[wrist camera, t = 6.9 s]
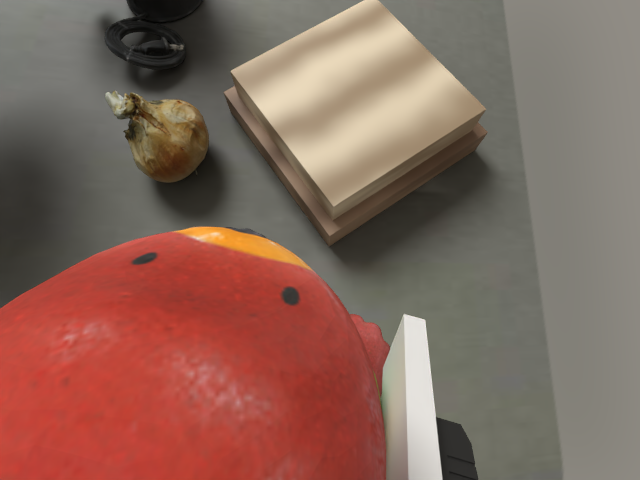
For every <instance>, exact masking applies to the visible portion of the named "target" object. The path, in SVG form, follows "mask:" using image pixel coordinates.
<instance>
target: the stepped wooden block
mask: <svg viewBox="0 0 640 480" xmlns="http://www.w3.org/2000/svg"><path fill="white" fill-rule="evenodd" d="M231 75H232V78H233V81H234V84H235V86H234V87H232V88H230V89H228V90H227V91H225V92H224V95H225V98H226V100H227V103H228V106H229V109H230V111H231V113H232V115H233V116H234V117H235V119H236V120H237V121H238V123H239V124H240V125H241V127H242V128H243V130H244V131H245V132H246V134H247V135H248V136H249V138H250V139H251V141H252V142H253V143H254V145H255V146H256V147H257V149H258V150H259V152H260V153H261V154H262V156H263V157H264V158H265V160H266V161H267V162H268V164H269V165H270V167H271V168H272V169H273V171H274V172H275V173H276V175H277V176H278V178H279V179H280V180H281V182H282V183H283V184H284V186H285V187H286V189H287V190H288V191H289V193H290V194H291V195H292V197H293V198H294V199H295V201H296V202H297V204H298V205H299V206H300V208H301V209H302V210H303V212H304V213H305V215H306V216H307V217H308V219H309V220H310V221H311V223H312V224H313V226H314V227H315V228H316V230H317V231H318V232H319V234H320V235H321V236H322V238H323V239H324V241H325V242H326V243H327V245H328V246H331V245H332V244H334V243H335V242H337V241H338V240H340V239H341V238H343V237H344V236H346V235H347V234H349V233H350V232H352V231H353V230H355V229H356V228H358V227H359V226H361V225H362V224H364V223H365V222H367V221H368V220H370V219H371V218H373V217H374V216H376V215H377V214H379V213H380V212H382V211H384V210H385V209H387V208H388V207H390V206H391V205H393V204H394V203H396V202H397V201H399V200H400V199H402V198H403V197H405V196H406V195H408V194H409V193H411V192H412V191H414V190H415V189H417V188H418V187H420V186H421V185H423V184H424V183H426V182H427V181H429V180H430V179H432V178H433V177H435V176H436V175H438V174H439V173H441V172H442V171H444V170H445V169H447V168H449V167H450V166H452V165H453V164H455V163H456V162H458V161H459V160H461V159H462V158H464V157H465V156H467V155H468V154H470V153H471V152H473V151H474V150H475V149H476V148H477V146H478V145H479V144H480V142H481V141H482V140H483V138H484V137H485V135H486V134H487V133H488V132H487V131H486V130H485V129H484V128H483V127H482V126H481V125H480V124H479V123H478V121H479V119H480V118H481V116H482V115H483V113H484V112H485V110H486V108H485V107H484V106H483V105H482V104H481V103H480V102H479V101H478V100H477V99H476V98H475V97H474V96H473V95H472V94H471V93H470V92H469V91H468V90H467V89H466V88H465V87H464V86H463V85H462V84H461V83H460V82H459V81H458V80H457V79H456V78H455V77H454V76H453V75H452V74H451V73H450V72H449V71H448V70H447V69H446V68H445V67H444V66H443V65H442V64H441V63H440V62H439V61H438V60H437V59H436V58H435V57H434V56H433V55H432V54H431V53H430V52H429V51H428V50H427V49H426V48H425V47H424V46H423V45H422V44H421V43H420V42H419V41H418V40H417V39H416V38H415V37H414V36H413V35H412V34H411V33H410V32H409V31H408V30H407V29H406V28H405V27H404V26H403V25H402V24H401V23H400V22H399V21H398V20H397V19H396V18H395V17H394V16H393V15H392V14H391V13H390V12H389V11H388V10H387V9H386V8H385V7H384V6H383V5H382V4H381V3H380V2H379V1H378V0H364V1H362V2H360V3H358V4H356V5H355V6H353V7H351V8H349V9H347V10H345V11H343V12H341V13H339V14H338V15H336V16H334V17H332V18H330V19H328V20H326V21H324V22H322V23H320V24H319V25H317V26H315V27H313V28H311V29H309V30H307V31H305V32H303V33H301V34H300V35H298V36H296V37H294V38H292V39H290V40H288V41H286V42H284V43H283V44H281V45H279V46H277V47H275V48H273V49H271V50H269V51H267V52H265V53H264V54H262V55H260V56H258V57H256V58H254V59H252V60H250V61H248V62H246V63H245V64H243V65H241V66H239V67H237V68H235V69H233V70H231Z"/></svg>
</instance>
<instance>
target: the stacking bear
mask: <svg viewBox="0 0 640 480" xmlns="http://www.w3.org/2000/svg"><path fill="white" fill-rule="evenodd" d="M389 351H390V346H389V345H388V343H386V342H385V341H384V340H383V337H382V333H381V329H380V328H379V326H378V325H376V324H374V323H366V322H364V320H363V319H362V317H360V316H359V315H355V314H349V313H348V311H347V310H346V308H345V307H344V305H343V304H342V302H341V301H340V299H339V298H338V296H337V295H336V294H335V293H334V292H333V290H332V289H331V288H330V287H329V286H328V284H327V283H326V282H325V281H324V280H323V279H322V278H320V277H319V276H318V275H317V274H316V273H315V272H314V271H313V270H312V269H311V268H310V267H309V266H308V265H307V264H306V263H304V262H303V261H302V260H301V259H300V258H299V257H297V256H296V255H295V254H294V253H292V252H291V251H289V250H287V249H286V248H284V247H282V246H281V245H279V244H278V243H276V242H274V241H271V240H269V239H267V238H266V237H265V236H263V235H261V234H259V233H257V232H255V231H253V230H251V229H236V228H231V227H226V228H221V227H192V228H189V229H185V230H180V231H173V232H167V233H161V234H156V235H152V236H148V237H143V238H139V239H136V240H133V241H130V242H127V243H123V244H120V245H118V246H115V247H113V248H110V249H108V250H105V251H103V252H100V253H97V254H95V255H93V256H91V257H89V258H87V259H85V260H83V261H81V262H79V263H77V264H76V265H74V266H72V267H70V268H68V269H66V270H65V271H63V272H61V273H59V274H58V275H56V276H54V277H52V278H50V279H48V280H47V281H45V282H43V283H41V284H39V285H38V286H36V287H34V288H32V289H30V290H29V291H27V292H25V293H23V294H21V295H20V296H18V297H17V298H15V299H14V300H12V301H11V302H9V303H8V304H6V305H5V306H3V307H2V308H0V480H386V442H385V431H384V420H383V415H382V409H381V401H380V397H381V394H382V377H383V367H384V364H385V361H386V359H387V356H388V354H389Z"/></svg>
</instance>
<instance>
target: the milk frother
mask: <svg viewBox="0 0 640 480" xmlns="http://www.w3.org/2000/svg"><path fill="white" fill-rule="evenodd" d="M201 1H202V0H127V4H128V6H129V7H130V9H131V10H132V11H133V12H134V13H135V14H136V15H137V17H133V18H128V19H123V20H121V21H118V22H116V23H114V24H112V25H111V26H109V28H108V29H107V30H106V32H105V42H106V45H107V46H108V48H109V49H110V50H111V51H112V52H113V53H114V54H115V55H117V56H118V57H120V58H122V59H124V60H125V61H128V62H130V63H132V64H134V65H137V66H140V67H144V68H149V69H157V70H163V69H169V68H173V67H175V66H178V65H179V64H181V63H182V62H183V60H184V58H185V55H186V51H185V45H184V43H183V40H182V38H181V37H180V36H179V35H178V34H177V33H176V32H174V31H173V30H170V29H168V28H166V27H164V26H161V25H158V24H154V23H150V22H143V21H138V20H140V19H145V20H148V21H153V22H166V21H173V20H177V19H180V18H182V17H184V16H187V15H188V14H190V13H191V12H193V11H194V10H195V9H196V8H197V7H198V6H199V5H200V3H201ZM133 32H148V33H153V34H156V35H159V36H162V40H155V41H149V42H147V43H142V45H138V46H137V45H136V46H134V45H132V46H131V48H130V47H128V46H126V45H124V44H123V43H122V41H121V39H122V38H123V37H124V36H125V35H127V34H129V33H133ZM166 39H167V40H169V41H170V42H171V43H172V44H169V43H168V42H167V40H166Z"/></svg>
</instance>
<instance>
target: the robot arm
mask: <svg viewBox="0 0 640 480" xmlns="http://www.w3.org/2000/svg"><path fill="white" fill-rule="evenodd" d="M381 409H382V415H383V420H384V431H385V442H386V480H478V476H477V471H476V467H475V461H474V455H473V450H472V445H471V442H470V441H469V439H468V437H467V435H466V433H465V431H464V430H463V428H462V426H461V424H457V423H454V422H451V421H447V420H444V419H440V418H437V417H436V416H435V406H434V397H433V388H432V379H431V370H430V360H429V351H428V342H427V333H426V324H425V320H424V319H420V318H417V317H413V316H410V315H406V314H404V315H403V318H402V320H401V323H400V325H399V328H398V330H397V333H396V336H395V338H394V341H393V343H392V346H391V349H390V351H389V354H388V356H387V359H386V361H385V364H384V367H383V377H382V399H381Z"/></svg>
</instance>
